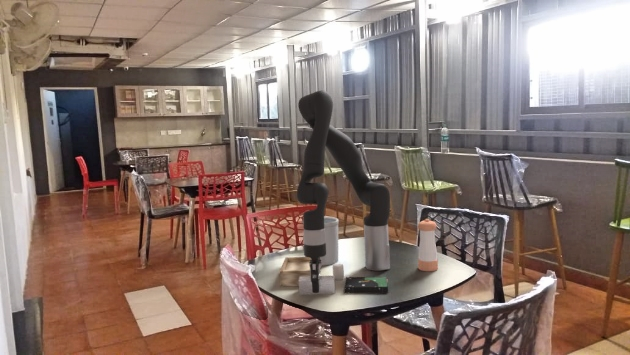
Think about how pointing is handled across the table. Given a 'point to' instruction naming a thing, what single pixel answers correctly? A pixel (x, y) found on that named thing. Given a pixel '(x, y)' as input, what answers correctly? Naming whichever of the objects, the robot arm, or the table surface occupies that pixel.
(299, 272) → the wooden tray
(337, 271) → the spool
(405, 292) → the table surface
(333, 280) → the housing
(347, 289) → the disk drive
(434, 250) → the pepper shaker
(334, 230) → the utensil holder
